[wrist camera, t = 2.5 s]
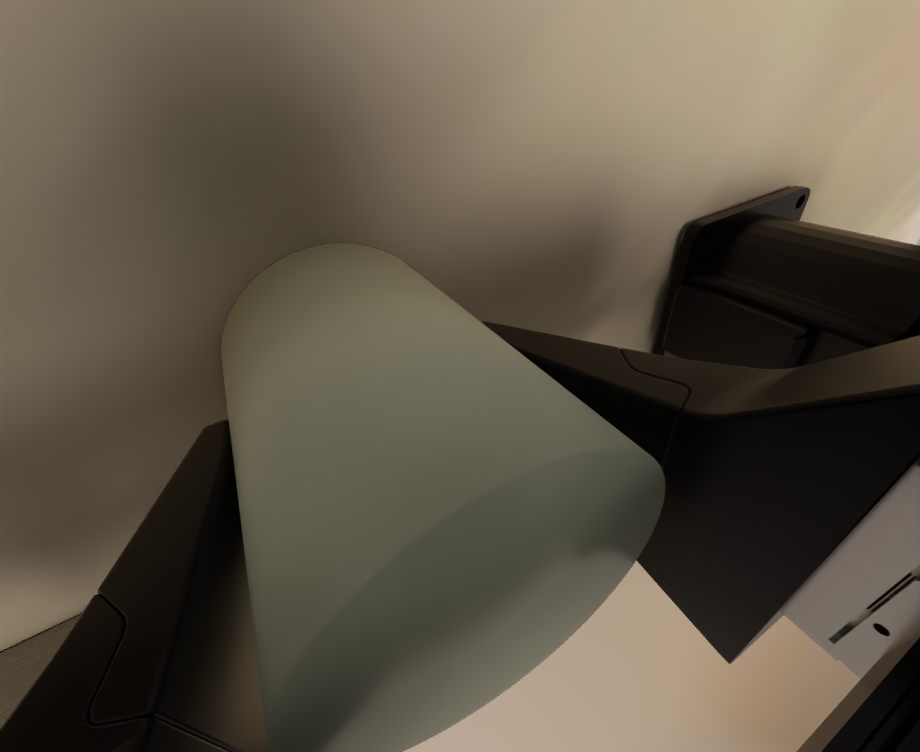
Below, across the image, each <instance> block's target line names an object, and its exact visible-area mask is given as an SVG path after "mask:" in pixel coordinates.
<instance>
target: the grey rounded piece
mask: <svg viewBox="0 0 920 752" xmlns="http://www.w3.org/2000/svg"><path fill="white" fill-rule="evenodd" d="M221 358H222V367H223V375H224V383H225V392H226V400H227V409H228V417H229V426H230V434H231V442H232V451H233V459H234V468H235V476H236V484H237V493H238V501H239V510H240V518H241V527H242V535H243V543H244V552H245V560H246V569H247V577H248V585H249V594H250V602H251V611H252V619H253V628H254V636H255V644H256V653H257V661H258V670H259V678H260V686H261V695H262V703H263V712H264V720H265V729H266V737H267V745H268V750H269V752H402V751H405V750H407V749H409V748H411V747H414V746H416V745H418V744H419V743H422V742H423V741H425V740H427V739H429V738H431V737H433V736H435V735H437V734H439V733H440V732H442V731H444V730H446V729H447V728H449V727H451V726H453V725H454V724H456V723H458V722H459V721H461V720H463V719H464V718H466V717H467V716H469V715H471V714H472V713H474V712H475V711H477V710H478V709H480V708H481V707H483V706H484V705H486V704H487V703H489V702H490V701H492V700H493V699H495V698H496V697H497V696H499V695H500V694H502V693H503V692H504V691H506V690H507V689H508V688H510V687H511V686H512V685H514V684H515V683H516V682H518V681H519V680H520V679H522V678H523V677H524V676H525V675H527V674H528V673H529V672H530V671H532V670H533V669H534V668H535V667H536V666H538V665H539V664H540V663H541V662H543V661H544V660H545V659H546V658H547V657H548V656H549V655H551V654H552V653H553V652H554V651H555V650H556V649H557V648H559V646H561V645H562V644H563V643H564V642H565V641H566V640H567V639H568V638H569V637H570V636H571V635H572V634H574V632H576V631H577V629H579V628H580V627H581V626H582V624H584V623H585V621H587V619H589V617H590V616H591V615H592V614H593V613H594V612H595V611H596V610H597V609H598V608H599V607H600V606H601V604H602V603H603V602H604V601H605V600H606V599H607V598H608V596H609V595H610V594H611V593H612V592H613V591H614V589H615V588H616V587H617V586H618V584H619V583H620V582H621V580H622V579H623V578H624V577H625V575H626V574H627V573H628V571H629V570H630V568H631V567H632V566H633V564H634V563H635V561H636V560H637V558H638V557H639V555H640V554H641V552H642V550H643V549H644V547H645V545H646V544H647V542H648V540H649V538H650V536H651V534H652V532H653V530H654V528H655V526H656V523H657V521H658V519H659V516H660V513H661V510H662V506H663V503H664V497H665V490H666V489H665V477H664V474H663V471H662V468H661V466H660V465H659V464H658V462H657V461H656V460H655V458H653V457H652V456H651V455H649V454H648V453H647V452H646V451H644V450H643V449H642V448H641V447H639V446H638V445H637V444H635V443H634V442H633V441H632V440H630V439H629V438H628V437H627V436H625V435H624V434H623V433H621V432H620V431H619V430H618V429H616V428H615V427H614V426H613V425H611V424H610V423H609V422H607V421H606V420H605V419H604V418H602V417H601V416H600V415H599V414H597V413H596V412H595V411H593V410H592V409H591V408H590V407H588V406H587V405H586V404H585V403H583V402H582V401H581V400H579V399H578V398H577V397H576V396H574V395H573V394H572V393H571V392H569V391H568V390H567V389H565V388H564V387H563V386H562V385H560V384H559V383H558V382H557V381H555V380H554V379H553V378H551V377H550V376H549V375H548V374H546V373H545V372H544V371H542V370H541V369H540V368H539V367H537V366H536V365H535V364H534V363H532V362H531V361H530V360H528V359H527V358H526V357H525V356H523V355H522V354H521V353H520V352H518V351H517V350H516V349H514V348H513V347H512V346H511V345H509V344H508V343H507V342H506V341H504V340H503V339H502V338H500V337H499V336H498V335H497V334H495V333H494V332H493V331H492V330H490V329H489V328H488V327H486V326H485V325H484V324H483V323H481V322H480V321H479V320H478V319H476V318H475V317H474V316H472V315H471V314H470V313H469V312H467V311H466V310H465V309H464V308H462V307H461V306H460V305H458V304H457V303H456V302H455V301H453V300H452V299H451V298H450V297H448V296H447V295H446V294H444V293H443V292H442V291H441V290H439V289H438V288H437V287H436V286H434V285H433V284H432V283H430V282H429V281H428V280H427V279H425V278H424V277H423V276H421V275H420V274H419V273H418V272H416V271H415V270H414V269H413V268H411V267H410V266H409V265H407V264H406V263H404V262H403V261H402V260H400V259H399V258H397V257H395V256H393V255H391V254H389V253H387V252H385V251H382V250H379V249H376V248H374V247H369V246H364V245H360V244H348V243H336V244H324V245H319V246H314V247H309V248H306V249H303V250H300V251H297V252H294V253H292V254H290V255H288V256H286V257H284V258H282V259H280V260H278V261H276V262H275V263H273V264H272V265H270V266H269V267H267V268H266V269H264V270H263V271H262V272H261V273H259V274H258V275H257V276H256V277H255V278H254V279H253V280H252V281H251V282H250V283H249V284H248V285H247V286H246V288H245V289H244V290H243V291H242V292H241V294H240V295H239V296H238V298H237V300H236V301H235V303H234V305H233V306H232V308H231V310H230V313H229V315H228V317H227V320H226V322H225V326H224V330H223V335H222V343H221Z"/></svg>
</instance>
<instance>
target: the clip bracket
mask: <svg viewBox="0 0 920 752" xmlns="http://www.w3.org/2000/svg"><path fill="white" fill-rule="evenodd" d="M80 616H81V615H79V616H77V617H75V618H73V619H71V620H69V621H66V622H64V623H62V624H60V625H58V626H56V627H54V628H52V629H50V630H48V631H46V632H43V633H41V634H39V635H37V636H35V637H33V638H31V639H29V640H27V641H25V642H22V643H20V644H18V645H16V646H14V647H12V648H10V649H8V650H6V651H4V652H2V653H0V728H1V726H2V725H3V724H4V722H5V721H6V720H7V719H8V717H9V716H10V715H11V713H12V712H13V710H14V709H15V708H16V706H17V705H18V704H19V702H20V701H21V700H22V698H23V697H24V696H25V694H26V693H27V691H28V690H29V689H30V687H31V686H32V685H33V683H34V682H35V681H36V679H37V678H38V676H39V675H40V674H41V672H42V671H43V670H44V668H45V667H46V666H47V664H48V663H49V661H50V660H51V658H52V657H53V656H54V654H55V653H56V651H57V650H58V648H59V647H60V645H61V644H62V642H63V641H64V639H65V638H66V637H67V635H68V634H69V632H70V631H71V629H72V628H73V626H74V625H75V623H76V622H77V620H78V619H79V617H80Z"/></svg>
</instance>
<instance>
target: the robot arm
mask: <svg viewBox="0 0 920 752" xmlns="http://www.w3.org/2000/svg"><path fill="white" fill-rule="evenodd" d="M809 195H810V189H809V188H807V187H801V186H793V187H790V188H788V189H785V190H782V191H779V192H776V193H774V194H771V195H768V196H765V197H762V198H760V199H757V200H754V201H751V202H748V203H746V204H743V205H740V206H737V207H734V208H732V209H729V210H726V211H723V212H720V213H718V214H715V215H712V216H709V217H707V218H704V219H701V220H698V221H696V222H694V223H692V224H691V225H690V226H689V228H688V229H687V231H686V232H685V234H684V237H683V239H682V243H681V247H680V252H679V256H678V260H677V264H676V268H675V272H674V276H673V281H672V285H671V289H670V293H669V297H668V301H667V305H666V309H665V314H664V318H663V322H662V326H661V330H660V334H659V338H658V343H657V347H656V351H655V354H650V353H645V352H639V351H634V350H629V349H624V348H621V349H620V350H619V348H618V347H613V346H608V345H603V344H598V343H592V342H587V341H582V340H577V339H572V338H567V337H562V336H556V335H551V334H546V333H541V332H536V331H531V330H526V329H520V328H515V327H510V326H505V325H500V324H495V323H490V322H484V321H482V322H481V323H483V324H484V325H485V326H486V327H488V328H489V329H490V330H492V331H493V332H494V333H495V334H497V335H498V336H499V337H500V338H502V339H503V340H504V341H506V342H507V343H508V344H509V345H511V346H512V347H513V348H514V349H516V350H517V351H518V352H520V353H521V354H522V355H523V356H525V357H526V358H527V359H528V360H530V361H531V362H532V363H534V364H535V365H536V366H537V367H539V368H540V369H541V370H542V371H544V372H545V373H546V374H548V375H549V376H550V377H551V378H553V379H554V380H555V381H557V382H558V383H559V384H560V385H562V386H563V387H564V388H565V389H567V390H568V391H569V392H571V393H572V394H573V395H574V396H576V397H577V398H578V399H579V400H581V401H582V402H583V403H585V404H586V405H587V406H588V407H590V408H591V409H592V410H593V411H595V412H596V413H597V414H599V415H600V416H601V417H602V418H604V419H605V420H606V421H607V422H609V423H610V424H611V425H613V426H614V427H615V428H616V429H618V430H619V431H620V432H621V433H623V434H624V435H625V436H627V437H628V438H629V439H630V440H632V441H633V442H634V443H635V444H637V445H638V446H639V447H641V448H642V449H643V450H644V451H646V452H647V453H648V454H649V455H651V456H652V457H653V458H655V460H656V461H657V462H658V464H659V465H660V466H661V468H662V471H663V474H664V477H665V489H666V490H665V497H664V503H663V506H662V510H661V513H660V516H659V519H658V521H657V523H656V526H655V528H654V530H653V532H652V534H651V536H650V538H649V540H648V542H647V544H646V545H645V547H644V549H643V550H642V552H641V554H640V555H639V557H638V558H637V561H638V563H639V564H640V565H641V566H642V567H643V568H644V569H645V570H646V572H647V573H648V574H649V575H650V576H651V577H652V578H653V579H654V581H655V582H656V583H657V584H658V585H659V586H660V587H661V588H662V590H663V591H664V592H665V593H666V594H667V595H668V596H669V598H671V600H672V601H673V602H674V603H675V604H676V605H677V606H678V607H679V609H680V610H681V611H682V612H683V613H684V614H685V616H686V617H687V618H688V619H689V620H690V621H691V622H692V623H693V625H694V626H695V627H696V628H697V629H698V630H699V631H700V632H701V634H703V636H704V637H705V638H706V639H707V640H708V641H709V643H710V644H711V645H712V646H713V647H714V648H715V649H716V650H717V652H718V653H719V654H720V655H721V656H722V657H723V658H724V659H725V660H726V661H727V662H728V663H729V664H731V663H732V662H733V661H734V660H735V659H737V658H738V657H739V656H740V655H741V654H742V653H743V652H744V651H745V650H746V649H747V648H748V647H749V646H751V645H752V644H753V643H754V642H755V641H756V640H757V639H758V638H759V637H760V636H761V635H763V634H764V633H765V632H766V631H767V630H768V629H769V628H770V627H771V626H772V625H773V624H774V623H775V622H777V621H778V620H779V619H780V618H781V617H782V616H783V615H785V616H786V617H787V618H788V619H789V620H791V621H792V622H793V623H794V624H795V625H796V626H797V627H799V628H800V629H801V630H802V631H803V632H804V633H805V634H807V635H808V636H809V637H810V638H811V639H813V641H815V642H816V643H817V644H818V645H819V646H820V647H821V648H823V649H824V650H825V651H826V652H827V653H828V654H829V655H831V656H832V657H833V658H834V659H835V660H836V661H838V660H840V661H841V662H842V663H844V664H845V665H846V666H847V667H848V668H849V669H850V670H852V671H853V672H854V673H855V674H856V675H857V676H858V677H860V678H861V680H860V681H859V682H858V683H857V684H856V686H855V687H854V688H853V689H852V690H851V691H850V692H849V693H848V695H847V696H846V697H845V698H844V699H843V700H842V701H841V702H840V704H839V705H838V706H837V707H836V708H835V709H834V710H833V711H832V713H831V714H830V715H829V716H828V717H827V718H826V719H825V720H824V722H823V723H822V724H821V725H820V726H819V727H818V728H817V729H816V730H815V732H814V733H813V734H812V735H811V736H810V737H809V738H808V739H807V741H806V742H805V743H804V744H803V745H802V746H801V747H800V748H799V750H798V751H797V752H920V246H918V245H913V244H908V243H904V242H899V241H894V240H889V239H884V238H880V237H875V236H870V235H865V234H860V233H856V232H851V231H846V230H841V229H836V228H832V227H827V226H822V225H817V224H812V223H808V222H803V221H799V220H800V218H801V215H802V213H803V210H804V208H805V205H806V203H807V201H808V198H809ZM98 593H99V594H96V595H94V596H93V598H92V599H91V601H90V602H89V604H88V605H87V607H86V608H85V610H84V611H83V613H82V614H81V616H80V617H79V619H78V620H77V622H76V623H75V625H74V626H73V628H72V629H71V631H70V632H69V634H68V635H67V637H66V638H65V639H64V641H63V642H62V644H61V645H60V647H59V648H58V650H57V651H56V653H55V654H54V656H53V657H52V658H51V660H50V661H49V663H48V664H47V666H46V667H45V668H44V670H43V671H42V672H41V674H40V675H39V676H38V678H37V679H36V681H35V682H34V683H33V685H32V686H31V687H30V689H29V690H28V691H27V693H26V694H25V696H24V697H23V698H22V700H21V701H20V702H19V704H18V705H17V706H16V708H15V709H14V710H13V712H12V713H11V715H10V716H9V717H8V719H7V720H6V721H5V722H4V724H3V725H2V726H1V728H0V752H269V750H268V745H267V737H266V729H265V720H264V712H263V703H262V695H261V686H260V678H259V670H258V661H257V653H256V644H255V636H254V628H253V619H252V611H251V602H250V594H249V585H248V577H247V569H246V560H245V552H244V543H243V535H242V527H241V518H240V510H239V501H238V493H237V484H236V476H235V468H234V459H233V451H232V442H231V434H230V426H229V420H222V421H220V422H217V423H214V424H212V425H209V426H207V427H205V428H204V429H203V430H202V432H201V433H200V435H199V436H198V438H197V440H196V441H195V443H194V444H193V446H192V447H191V449H190V450H189V452H188V453H187V455H186V456H185V458H184V459H183V461H182V462H181V464H180V465H179V467H178V468H177V470H176V472H175V473H174V475H173V476H172V478H171V479H170V481H169V482H168V484H167V485H166V487H165V488H164V490H163V491H162V493H161V494H160V496H159V497H158V499H157V500H156V502H155V503H154V505H153V507H152V508H151V510H150V511H149V513H148V514H147V516H146V517H145V519H144V520H143V522H142V523H141V525H140V526H139V528H138V529H137V531H136V532H135V534H134V535H133V537H132V539H131V540H130V542H129V543H128V545H127V546H126V548H125V549H124V551H123V552H122V554H121V555H120V557H119V558H118V560H117V561H116V563H115V564H114V566H113V567H112V569H111V571H110V572H109V574H108V575H107V577H106V578H105V580H104V581H103V583H102V584H101V586H100V587H99V589H98Z"/></svg>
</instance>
